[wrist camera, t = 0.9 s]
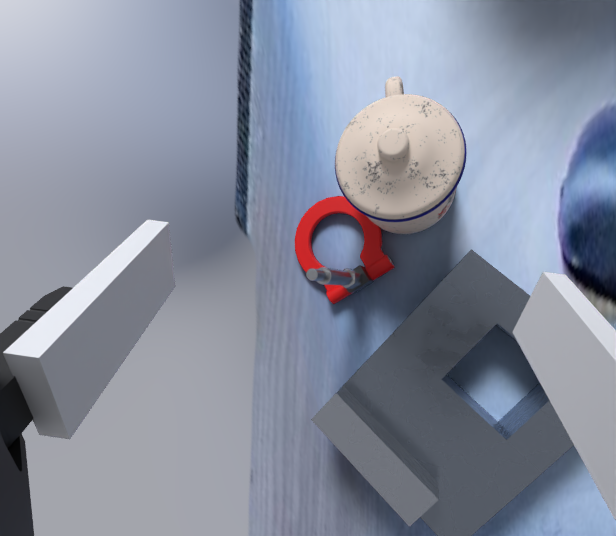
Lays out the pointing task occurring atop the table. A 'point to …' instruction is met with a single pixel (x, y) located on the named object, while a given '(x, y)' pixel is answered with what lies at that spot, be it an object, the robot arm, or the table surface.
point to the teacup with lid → (401, 161)
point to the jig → (444, 411)
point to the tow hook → (347, 279)
